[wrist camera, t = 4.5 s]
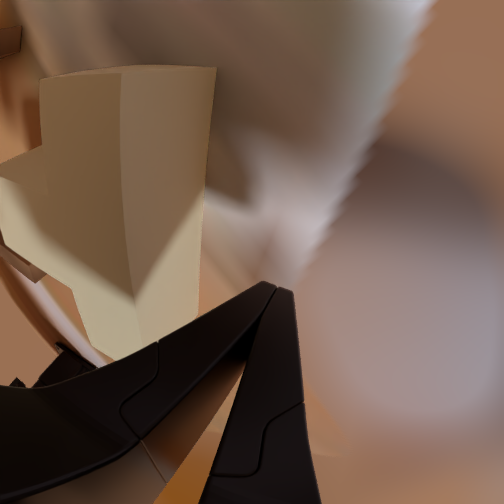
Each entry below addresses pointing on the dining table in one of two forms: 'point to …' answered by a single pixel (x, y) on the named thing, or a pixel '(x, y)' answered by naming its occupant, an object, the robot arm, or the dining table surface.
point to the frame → (3, 45)
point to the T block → (117, 197)
